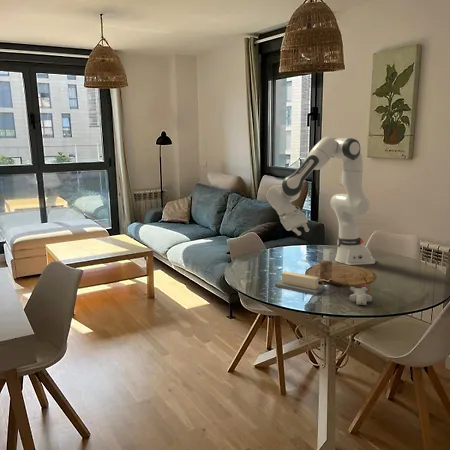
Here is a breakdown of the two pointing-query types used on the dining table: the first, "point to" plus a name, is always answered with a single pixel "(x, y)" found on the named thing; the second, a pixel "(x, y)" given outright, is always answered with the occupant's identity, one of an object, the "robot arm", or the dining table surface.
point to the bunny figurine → (360, 296)
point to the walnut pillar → (325, 270)
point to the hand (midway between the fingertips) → (304, 232)
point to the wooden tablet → (362, 286)
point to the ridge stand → (300, 283)
